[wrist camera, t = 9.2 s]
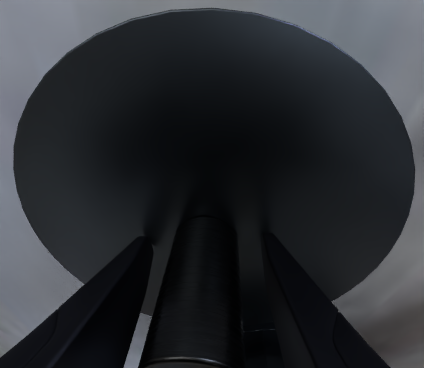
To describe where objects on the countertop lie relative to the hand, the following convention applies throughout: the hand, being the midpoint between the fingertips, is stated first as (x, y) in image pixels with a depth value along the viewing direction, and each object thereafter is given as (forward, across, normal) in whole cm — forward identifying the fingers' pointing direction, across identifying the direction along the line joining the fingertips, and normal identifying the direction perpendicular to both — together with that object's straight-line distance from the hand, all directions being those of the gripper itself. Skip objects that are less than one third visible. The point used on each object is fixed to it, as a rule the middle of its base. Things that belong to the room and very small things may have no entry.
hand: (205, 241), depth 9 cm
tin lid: (+1, 0, 0) cm, 1 cm away
